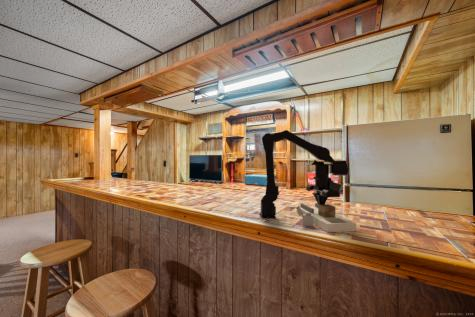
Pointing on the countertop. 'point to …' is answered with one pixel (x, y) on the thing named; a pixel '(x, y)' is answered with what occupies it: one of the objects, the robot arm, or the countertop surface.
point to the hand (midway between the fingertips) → (321, 209)
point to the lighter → (305, 217)
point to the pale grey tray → (328, 220)
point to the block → (326, 210)
